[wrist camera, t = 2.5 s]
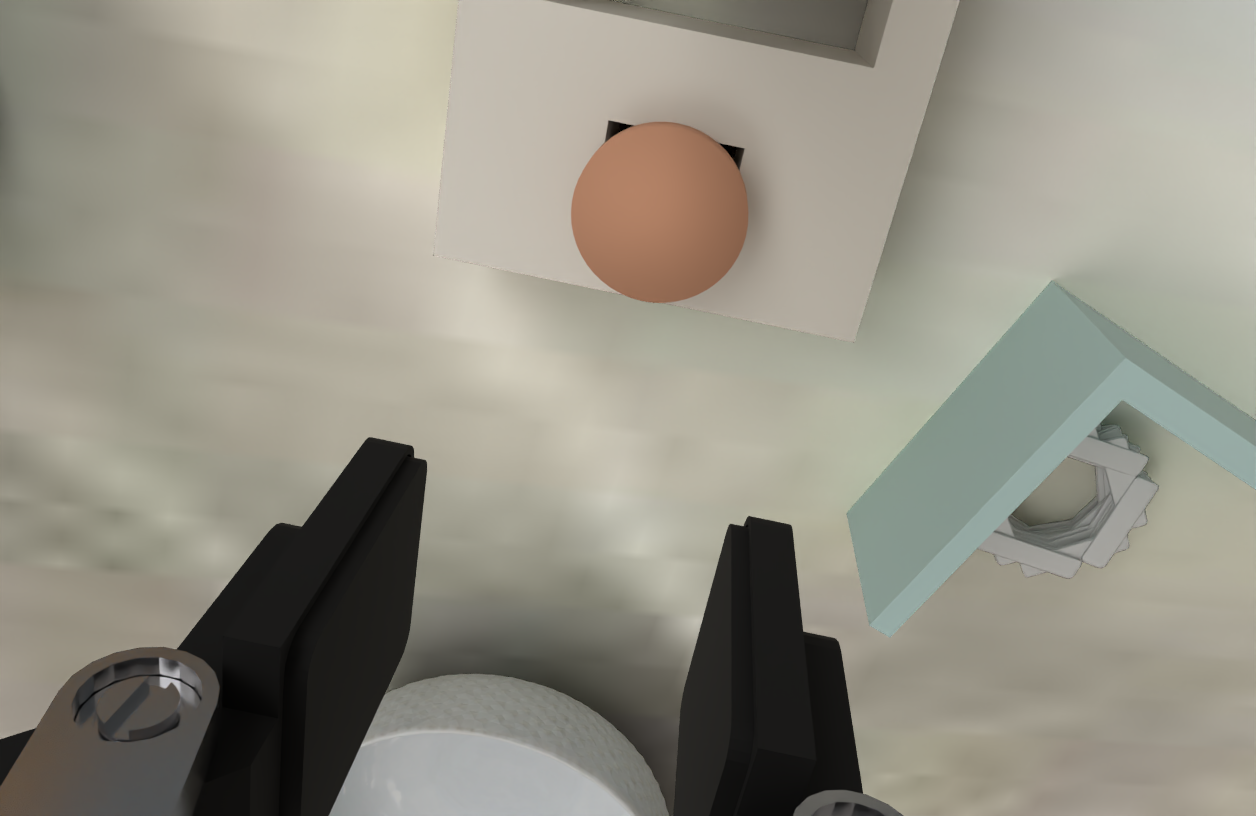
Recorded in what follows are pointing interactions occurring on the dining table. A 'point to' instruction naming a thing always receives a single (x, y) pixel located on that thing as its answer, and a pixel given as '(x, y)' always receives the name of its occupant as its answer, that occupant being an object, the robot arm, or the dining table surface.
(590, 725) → the cereal bowl
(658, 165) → the chicken egg
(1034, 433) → the right angle wall
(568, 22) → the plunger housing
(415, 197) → the dining table surface
